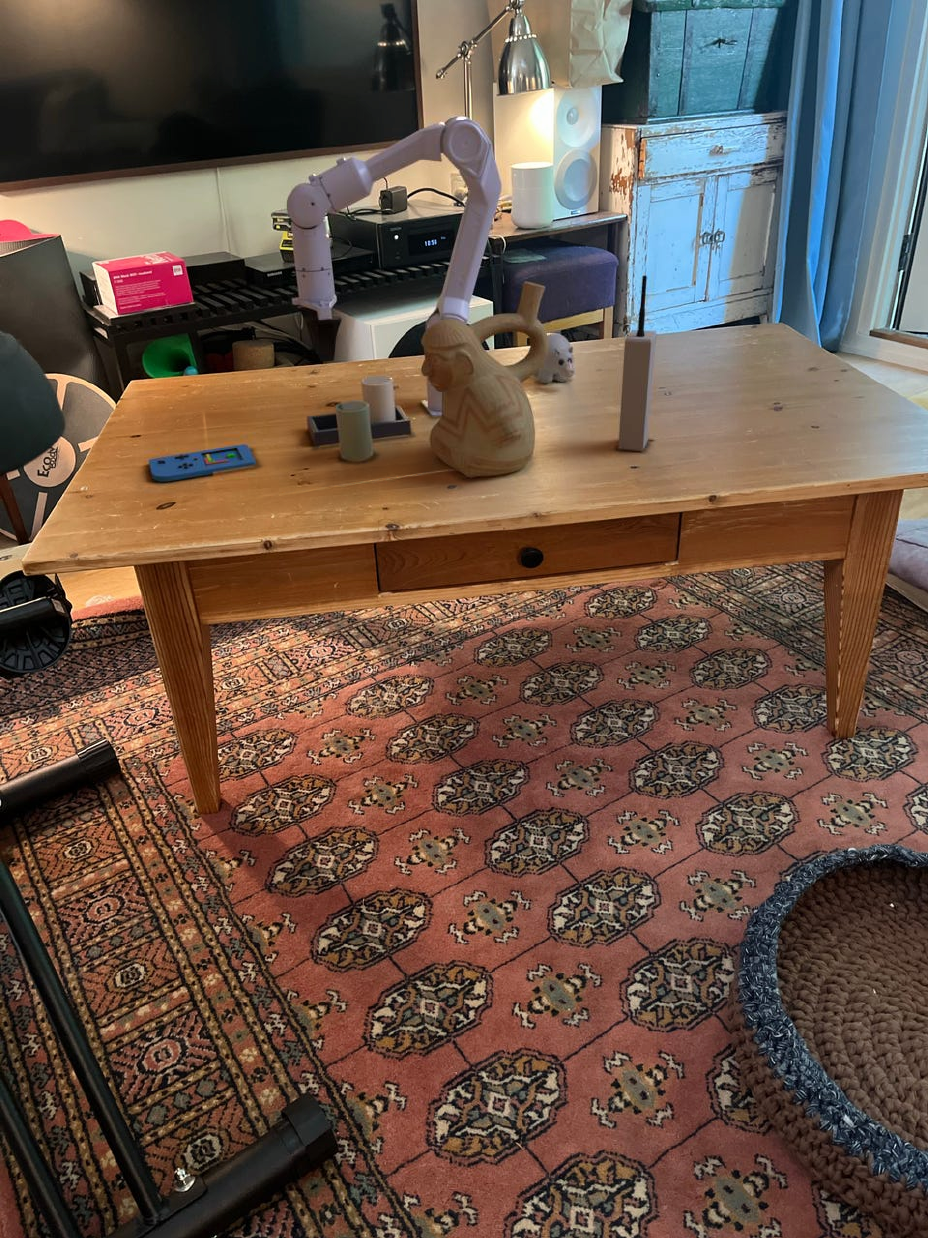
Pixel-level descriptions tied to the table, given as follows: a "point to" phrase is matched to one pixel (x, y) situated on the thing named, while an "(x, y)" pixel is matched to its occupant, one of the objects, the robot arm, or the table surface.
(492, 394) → the ceramic vessel
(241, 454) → the handheld gaming device
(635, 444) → the vintage mobile phone
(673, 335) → the table surface
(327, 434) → the cup holder
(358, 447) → the green cup
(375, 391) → the cream cup
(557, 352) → the chubby cartoon animal
